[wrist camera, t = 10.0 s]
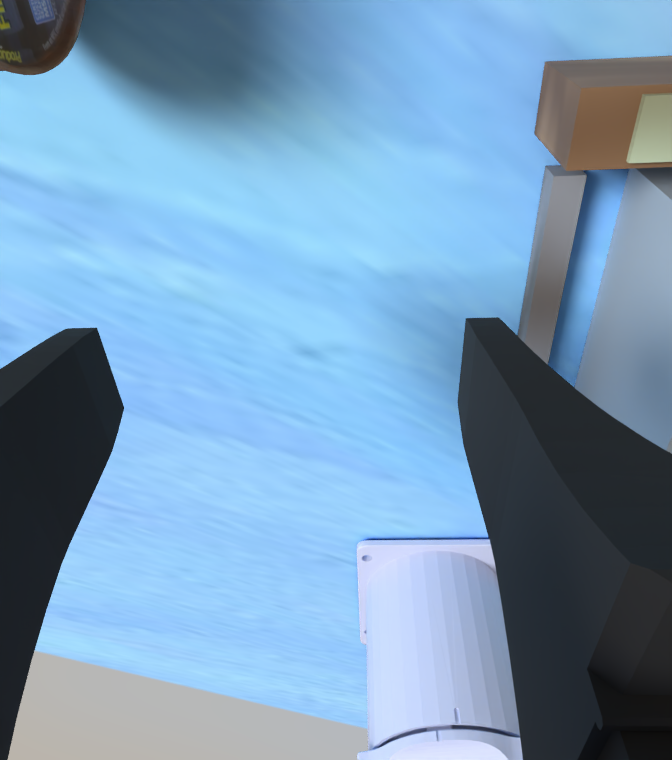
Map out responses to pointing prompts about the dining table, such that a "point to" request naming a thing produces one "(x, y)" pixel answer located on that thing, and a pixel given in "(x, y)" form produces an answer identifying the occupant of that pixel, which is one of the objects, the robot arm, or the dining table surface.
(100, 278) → the dining table surface
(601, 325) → the grey rectangular block
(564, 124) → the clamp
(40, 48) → the tin
